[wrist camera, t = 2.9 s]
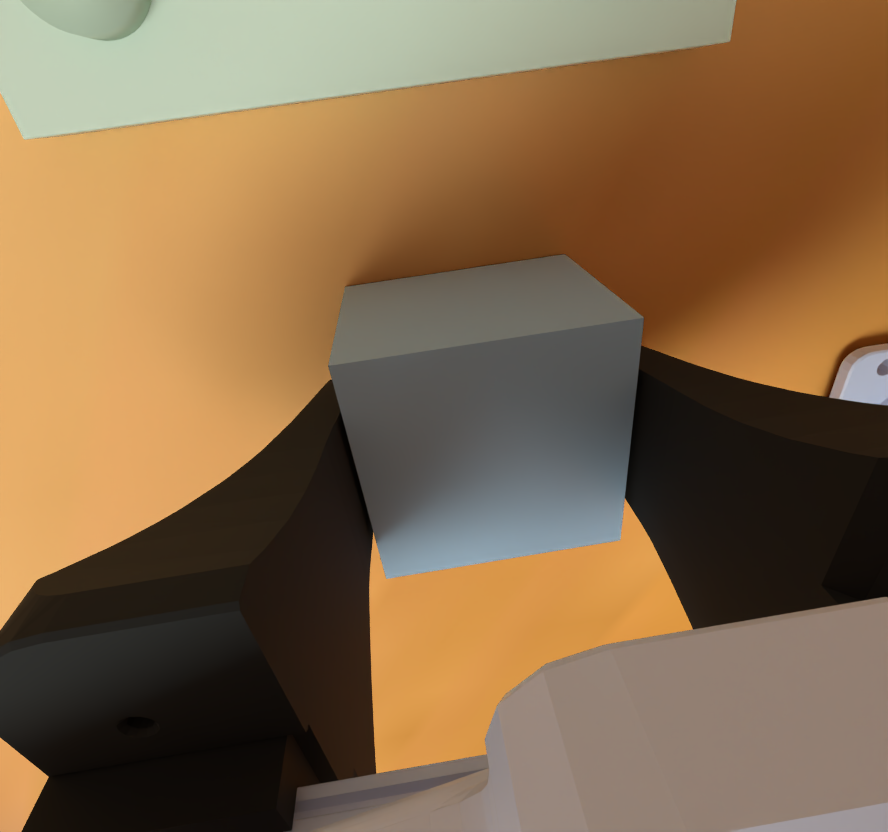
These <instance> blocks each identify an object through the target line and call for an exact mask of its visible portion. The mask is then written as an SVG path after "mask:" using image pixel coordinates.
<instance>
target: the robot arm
mask: <svg viewBox="0 0 888 832" xmlns="http://www.w3.org/2000/svg"><path fill="white" fill-rule="evenodd" d="M880 363H881V364H880ZM625 499H626V500H627V502H628V504H629V505H630V507H631V508H632V510H633V511H634V513H635V514H636V516H637V518H638V519H639V521H640V522H641V524H642V525H643V527H644V529H645V531H646V532H647V534H648V536H649V537H650V539H651V541H652V543H653V545H654V547H655V549H656V551H657V553H658V555H659V557H660V559H661V561H662V563H663V565H664V567H665V569H666V571H667V573H668V575H669V577H670V579H671V582H672V584H673V586H674V588H675V590H676V592H677V595H678V597H679V599H680V601H681V603H682V606H683V608H684V610H685V612H686V614H687V616H688V619H689V621H690V623H691V625H692V628H693V630H688V631H682V632H676V633H670V634H664V635H658V636H653V637H647V638H641V639H635V640H629V641H623V642H617V643H612V644H606V645H602V646H599V647H596V648H593V649H590V650H587V651H584V652H581V653H577V654H574V655H571V656H568V657H565V658H562V659H559V660H556V661H553V662H550V663H547V664H545V665H544V666H542V667H541V668H540V669H538V670H537V671H536V672H534V673H533V674H532V675H530V676H529V677H528V678H526V679H525V680H524V681H522V682H521V683H520V684H518V685H517V686H516V687H514V688H513V689H512V690H510V691H509V692H508V693H506V694H505V696H504V697H503V698H502V700H501V701H500V702H499V704H498V705H497V707H496V710H495V713H494V716H493V718H492V721H491V724H490V727H489V729H488V732H487V735H486V738H485V744H486V751H487V754H486V755H481V756H475V757H469V758H464V759H458V760H452V761H446V762H441V763H435V764H429V765H424V766H418V767H412V768H407V769H401V770H395V771H389V772H384V773H378V774H376V763H375V746H374V727H373V704H372V682H371V652H370V614H369V576H370V561H371V550H372V539H373V528H372V524H371V521H370V517H369V513H368V510H367V506H366V502H365V499H364V495H363V491H362V488H361V484H360V480H359V477H358V473H357V469H356V466H355V462H354V458H353V455H352V451H351V447H350V444H349V440H348V436H347V433H346V429H345V425H344V422H343V418H342V414H341V411H340V407H339V403H338V400H337V396H336V392H335V389H334V385H333V381H332V380H330V381H328V382H327V383H326V384H325V385H324V387H323V388H322V389H321V390H320V391H319V392H318V393H317V394H316V396H315V397H314V398H313V399H312V400H311V401H310V402H309V403H308V405H307V406H306V407H305V408H304V409H303V410H302V411H301V412H300V413H299V414H298V415H297V417H296V418H295V419H294V420H293V421H292V422H291V423H290V424H289V425H288V426H287V427H286V428H285V429H284V430H283V431H282V432H281V433H280V434H279V435H278V436H277V437H275V438H274V439H273V440H272V441H271V442H270V443H269V444H268V445H267V446H266V447H265V448H264V449H263V450H262V451H261V452H260V453H258V454H257V455H256V456H255V457H254V458H252V459H251V460H250V461H249V462H248V463H246V464H245V465H244V466H243V467H241V468H240V469H239V470H237V471H236V472H235V473H233V474H232V475H231V476H230V477H228V478H227V479H225V480H224V481H223V482H221V483H220V484H218V485H217V486H215V487H214V488H212V489H211V490H209V491H208V492H206V493H205V494H203V495H202V496H200V497H198V498H197V499H195V500H194V501H192V502H191V503H189V504H188V505H186V506H185V507H183V508H182V509H180V510H178V511H177V512H175V513H173V514H171V515H170V516H168V517H166V518H164V519H163V520H161V521H159V522H157V523H156V524H154V525H152V526H150V527H148V528H146V529H144V530H142V531H141V532H139V533H137V534H135V535H133V536H131V537H129V538H127V539H125V540H123V541H121V542H119V543H117V544H115V545H113V546H111V547H109V548H107V549H105V550H103V551H100V552H98V553H96V554H94V555H92V556H90V557H87V558H85V559H83V560H81V561H79V562H76V563H74V564H72V565H70V566H68V567H65V568H63V569H61V570H59V571H57V572H54V573H52V574H50V575H47V576H45V577H43V578H40V579H38V580H37V581H36V582H35V583H34V585H33V586H32V588H31V589H30V590H29V592H28V593H27V595H26V596H25V597H24V599H23V600H22V601H21V603H20V604H19V606H18V607H17V608H16V610H15V611H14V612H13V614H12V615H11V617H10V618H9V619H8V621H7V622H6V623H5V625H4V626H3V628H2V629H1V630H0V738H2V739H3V740H4V741H5V742H7V743H8V744H9V745H10V746H12V747H13V748H14V749H15V750H17V751H18V752H19V753H20V754H21V755H23V756H24V757H25V758H26V759H28V760H29V761H30V762H31V763H33V764H34V765H35V766H36V767H38V768H39V769H40V770H41V771H42V772H44V773H45V774H46V775H47V776H49V778H48V780H47V782H46V784H45V786H44V788H43V790H42V792H41V794H40V796H39V798H38V800H37V802H36V804H35V806H34V808H33V810H32V812H31V814H30V816H29V818H28V820H27V822H26V824H25V826H24V828H23V830H22V832H888V343H886V344H880V345H873V346H867V347H862V348H859V349H856V350H855V351H853V352H851V353H850V354H849V355H848V356H847V357H846V358H845V359H844V360H843V362H842V363H841V365H840V368H839V371H838V374H837V376H836V379H835V382H834V385H833V388H832V391H831V393H830V396H829V397H823V396H817V395H811V394H806V393H800V392H795V391H790V390H786V389H781V388H777V387H772V386H768V385H763V384H759V383H755V382H751V381H747V380H743V379H739V378H736V377H733V376H729V375H726V374H723V373H719V372H716V371H713V370H709V369H706V368H703V367H700V366H697V365H694V364H691V363H688V362H685V361H682V360H680V359H677V358H674V357H671V356H668V355H666V354H663V353H660V352H657V351H655V350H652V349H649V348H646V347H644V346H641V351H640V360H639V370H638V379H637V388H636V398H635V407H634V416H633V426H632V435H631V444H630V454H629V463H628V472H627V482H626V491H625Z"/></svg>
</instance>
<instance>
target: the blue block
mask: <svg viewBox="0 0 888 832" xmlns="http://www.w3.org/2000/svg"><path fill="white" fill-rule="evenodd" d="M643 323H644V317H643V316H641V315H640V314H639V313H638V312H636V311H635V310H634V309H633V308H631V307H630V306H629V305H628V304H626V303H625V302H624V301H623V300H621V299H620V298H619V297H618V296H616V295H615V294H614V293H613V292H612V291H610V290H609V289H608V288H607V287H605V286H604V285H603V284H602V283H600V282H599V281H598V280H597V279H595V278H594V277H593V276H592V275H590V274H589V273H588V272H587V271H585V270H584V269H583V268H582V267H580V266H579V265H578V264H577V263H575V262H574V261H573V260H572V259H570V258H569V257H568V256H567V255H565V254H562V255H555V256H549V257H542V258H535V259H529V260H522V261H515V262H508V263H502V264H495V265H488V266H482V267H475V268H468V269H461V270H455V271H448V272H441V273H435V274H428V275H421V276H414V277H408V278H401V279H394V280H388V281H381V282H374V283H367V284H361V285H354V286H347V287H345V289H344V294H343V299H342V303H341V308H340V313H339V318H338V322H337V327H336V332H335V337H334V341H333V346H332V351H331V355H330V360H329V365H328V367H329V370H330V374H331V378H332V381H333V385H334V389H335V392H336V396H337V400H338V403H339V407H340V411H341V414H342V418H343V422H344V425H345V429H346V433H347V436H348V440H349V444H350V447H351V451H352V455H353V458H354V462H355V466H356V469H357V473H358V477H359V480H360V484H361V488H362V491H363V495H364V499H365V502H366V506H367V510H368V513H369V517H370V521H371V524H372V528H373V532H374V535H375V539H376V543H377V546H378V550H379V554H380V557H381V561H382V565H383V568H384V572H385V576H386V579H388V578H394V577H400V576H406V575H412V574H418V573H424V572H430V571H436V570H443V569H449V568H455V567H461V566H467V565H473V564H479V563H485V562H491V561H497V560H503V559H509V558H515V557H521V556H527V555H534V554H540V553H546V552H552V551H558V550H564V549H570V548H576V547H582V546H588V545H594V544H600V543H606V542H612V541H618V540H620V537H621V528H622V519H623V510H624V500H625V491H626V482H627V472H628V463H629V454H630V444H631V435H632V426H633V416H634V407H635V398H636V388H637V379H638V370H639V360H640V351H641V342H642V333H643Z"/></svg>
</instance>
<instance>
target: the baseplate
mask: <svg viewBox="0 0 888 832" xmlns="http://www.w3.org/2000/svg"><path fill="white" fill-rule="evenodd" d="M735 7H736V0H0V93H1V95H2V97H3V99H4V101H5V103H6V105H7V106H8V108H9V110H10V112H11V114H12V116H13V118H14V120H15V122H16V124H17V126H18V128H19V130H20V132H21V134H22V136H23V138H24V140H25V139H37V138H48V137H59V136H66V135H73V134H80V133H88V132H95V131H102V130H109V129H116V128H124V127H131V126H138V125H145V124H152V123H160V122H167V121H174V120H181V119H189V118H196V117H203V116H210V115H217V114H225V113H232V112H239V111H246V110H253V109H261V108H268V107H275V106H282V105H289V104H297V103H304V102H311V101H318V100H325V99H333V98H340V97H347V96H354V95H361V94H369V93H376V92H383V91H390V90H398V89H405V88H412V87H419V86H426V85H434V84H441V83H448V82H455V81H462V80H470V79H477V78H484V77H491V76H498V75H506V74H513V73H520V72H527V71H534V70H542V69H549V68H556V67H563V66H570V65H578V64H585V63H592V62H599V61H606V60H614V59H621V58H628V57H635V56H643V55H650V54H657V53H664V52H671V51H679V50H686V49H693V48H700V47H705V46H710V45H715V44H721V43H726V42H730V39H731V32H732V26H733V20H734V13H735Z"/></svg>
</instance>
